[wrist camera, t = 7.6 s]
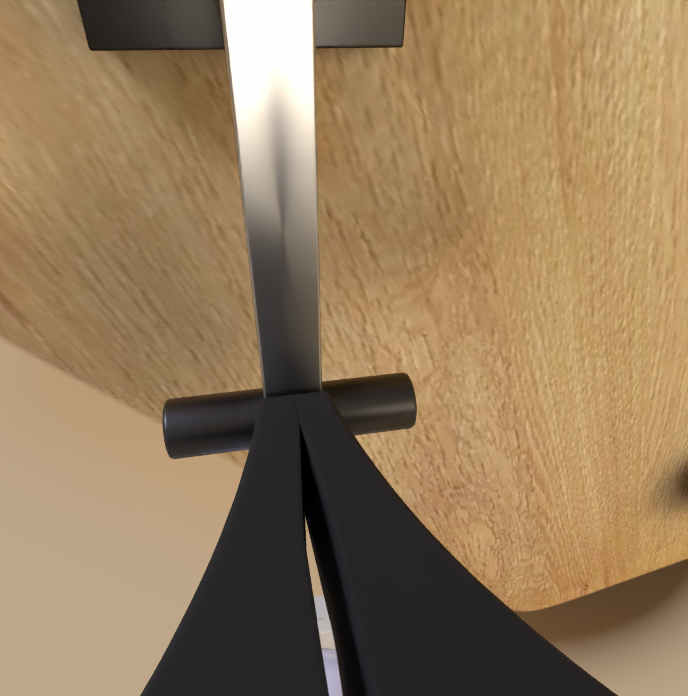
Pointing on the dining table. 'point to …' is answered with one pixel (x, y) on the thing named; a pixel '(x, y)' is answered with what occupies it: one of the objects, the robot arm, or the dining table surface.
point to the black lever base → (206, 25)
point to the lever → (279, 238)
